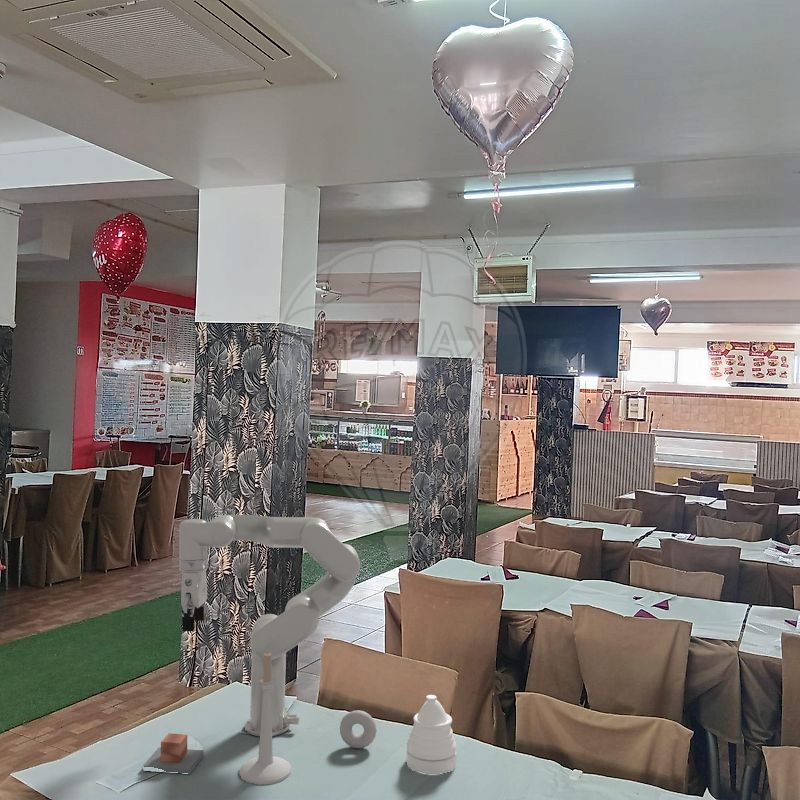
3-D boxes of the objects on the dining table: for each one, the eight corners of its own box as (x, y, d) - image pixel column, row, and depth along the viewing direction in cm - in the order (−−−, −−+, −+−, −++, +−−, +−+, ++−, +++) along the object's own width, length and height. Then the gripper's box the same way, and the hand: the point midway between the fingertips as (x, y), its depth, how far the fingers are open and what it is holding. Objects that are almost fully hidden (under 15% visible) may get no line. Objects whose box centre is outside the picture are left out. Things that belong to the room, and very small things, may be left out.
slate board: (203, 756, 205) (203, 750, 205) (189, 774, 196) (189, 768, 196) (158, 753, 207) (158, 747, 206) (142, 771, 197) (142, 765, 197)
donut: (377, 746, 213) (377, 709, 213) (375, 752, 210) (375, 714, 210) (340, 743, 214) (341, 706, 214) (337, 749, 211) (338, 712, 211)
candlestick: (241, 787, 190) (243, 663, 190) (237, 762, 202) (239, 645, 202) (294, 781, 193) (296, 659, 193) (287, 757, 206) (289, 642, 205)
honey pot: (452, 778, 197) (454, 706, 196) (401, 772, 199) (403, 701, 199) (459, 754, 209) (460, 687, 209) (411, 749, 212) (412, 682, 212)
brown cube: (187, 753, 203) (187, 734, 203) (179, 763, 198) (180, 743, 198) (168, 752, 204) (168, 733, 204) (160, 761, 199) (160, 741, 199)
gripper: (198, 571, 211) (198, 635, 211) (214, 557, 228) (214, 616, 229) (170, 571, 211) (170, 635, 212) (188, 557, 229) (188, 616, 229)
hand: (193, 625), depth 220 cm, fingers open, 9 cm apart
